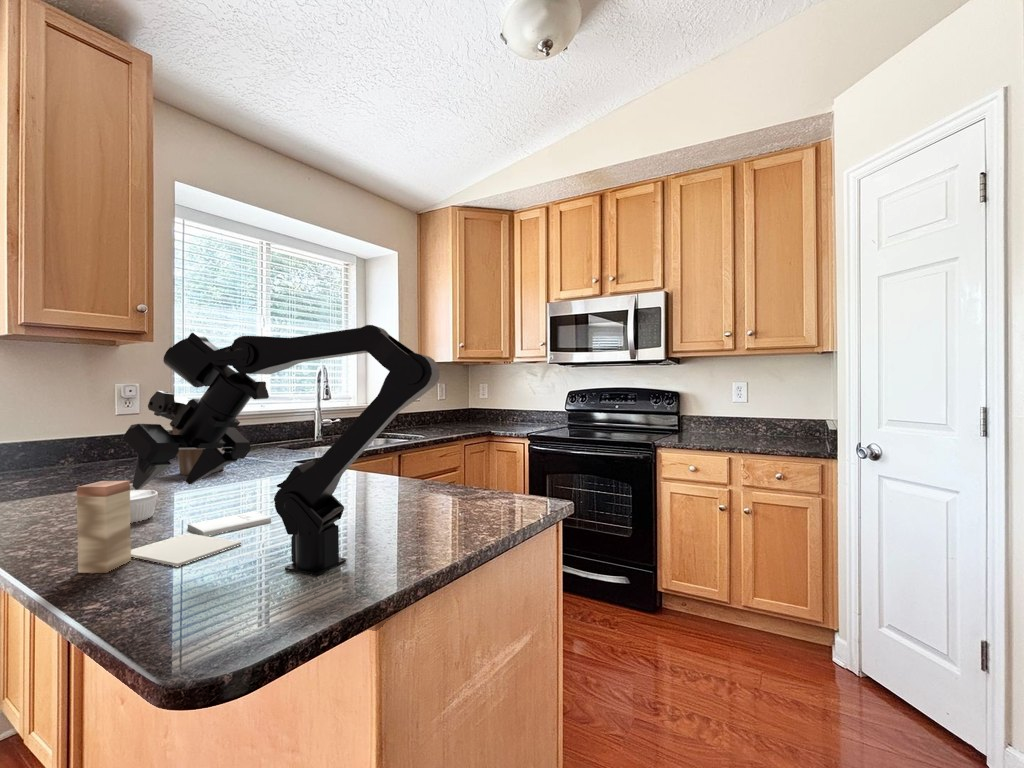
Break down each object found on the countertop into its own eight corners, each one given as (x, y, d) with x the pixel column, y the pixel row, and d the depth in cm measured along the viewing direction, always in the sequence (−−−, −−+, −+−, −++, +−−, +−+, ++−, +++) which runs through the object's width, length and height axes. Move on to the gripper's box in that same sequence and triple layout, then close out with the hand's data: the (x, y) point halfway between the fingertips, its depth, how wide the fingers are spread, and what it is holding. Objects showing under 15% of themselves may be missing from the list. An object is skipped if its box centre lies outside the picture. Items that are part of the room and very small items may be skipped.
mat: (241, 545, 87) (241, 541, 87) (177, 567, 76) (177, 563, 76) (187, 536, 92) (187, 533, 92) (122, 555, 82) (121, 552, 82)
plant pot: (185, 478, 148) (185, 425, 148) (161, 473, 157) (160, 423, 157) (240, 470, 162) (239, 421, 162) (215, 466, 171) (214, 419, 171)
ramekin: (157, 521, 103) (157, 496, 103) (86, 531, 96) (86, 504, 96) (158, 510, 112) (158, 487, 112) (94, 518, 106) (94, 494, 106)
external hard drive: (187, 532, 97) (253, 517, 106) (203, 540, 91) (271, 524, 101) (187, 523, 97) (253, 510, 106) (203, 531, 91) (271, 516, 101)
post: (130, 561, 79) (129, 480, 79) (107, 572, 75) (105, 486, 75) (103, 561, 79) (102, 480, 79) (78, 572, 75) (76, 486, 75)
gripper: (233, 382, 88) (182, 452, 88) (132, 366, 70) (69, 454, 70) (274, 420, 85) (222, 491, 86) (181, 414, 67) (115, 505, 68)
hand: (163, 485), depth 77 cm, fingers open, 9 cm apart
